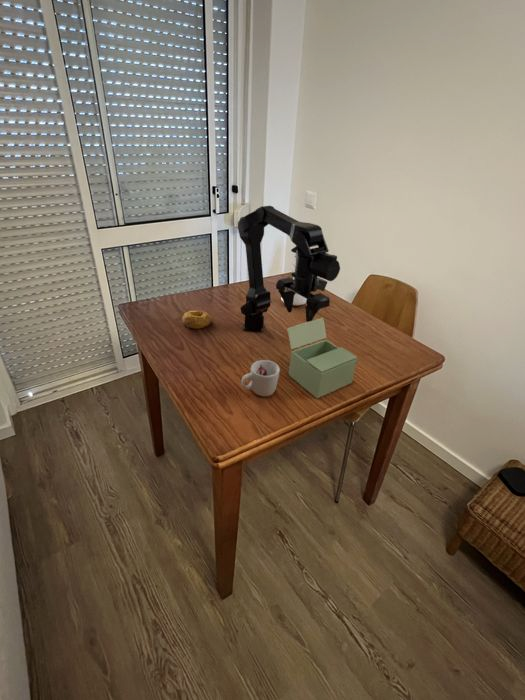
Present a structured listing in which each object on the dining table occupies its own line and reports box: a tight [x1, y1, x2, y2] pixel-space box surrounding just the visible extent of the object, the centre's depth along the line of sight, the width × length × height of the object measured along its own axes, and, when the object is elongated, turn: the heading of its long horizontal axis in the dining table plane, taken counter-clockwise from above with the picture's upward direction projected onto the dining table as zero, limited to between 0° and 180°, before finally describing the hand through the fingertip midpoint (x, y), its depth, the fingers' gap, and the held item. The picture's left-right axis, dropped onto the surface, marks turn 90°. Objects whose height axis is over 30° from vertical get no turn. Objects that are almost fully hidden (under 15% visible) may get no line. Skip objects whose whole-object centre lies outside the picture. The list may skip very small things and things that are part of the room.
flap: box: [286, 317, 327, 350], centre depth 105 cm, size 6×14×1 cm
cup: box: [240, 359, 281, 397], centre depth 97 cm, size 11×8×8 cm
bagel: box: [181, 310, 213, 330], centre depth 130 cm, size 10×11×5 cm
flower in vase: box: [280, 247, 312, 307], centre depth 145 cm, size 13×11×25 cm
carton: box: [288, 339, 358, 399], centre depth 104 cm, size 13×14×9 cm
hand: (298, 317), depth 111 cm, fingers open, 9 cm apart
